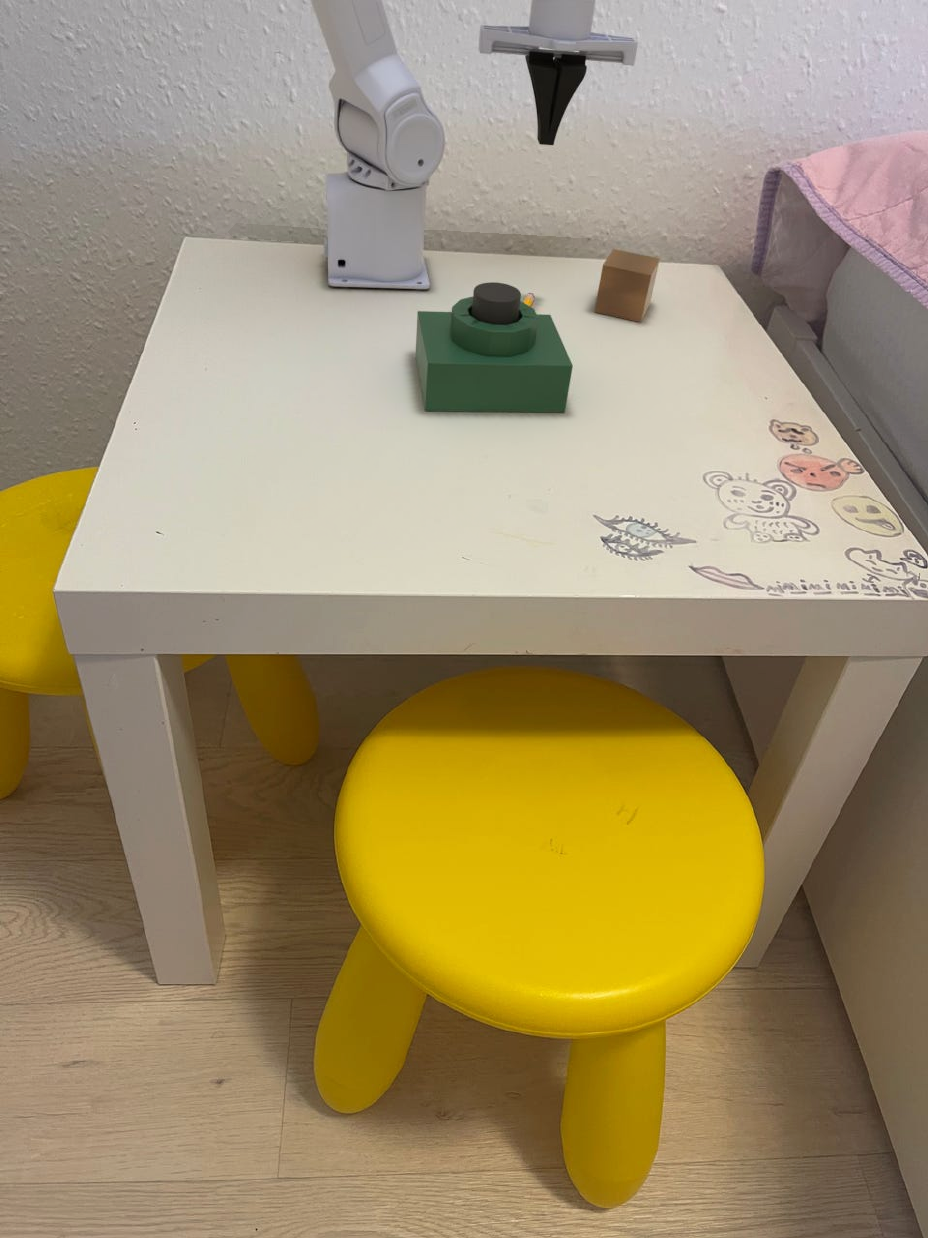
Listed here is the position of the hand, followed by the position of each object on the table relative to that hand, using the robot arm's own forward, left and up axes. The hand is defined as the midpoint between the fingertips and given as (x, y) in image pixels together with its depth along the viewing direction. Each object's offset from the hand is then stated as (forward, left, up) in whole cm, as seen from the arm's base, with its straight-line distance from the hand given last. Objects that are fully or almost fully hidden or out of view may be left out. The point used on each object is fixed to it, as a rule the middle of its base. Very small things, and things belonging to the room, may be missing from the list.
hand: (545, 141), depth 91 cm
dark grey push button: (-9, -30, -5) cm, 32 cm away
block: (+6, -15, -10) cm, 19 cm away
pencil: (-4, -17, -11) cm, 20 cm away
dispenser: (-9, -30, -10) cm, 33 cm away
